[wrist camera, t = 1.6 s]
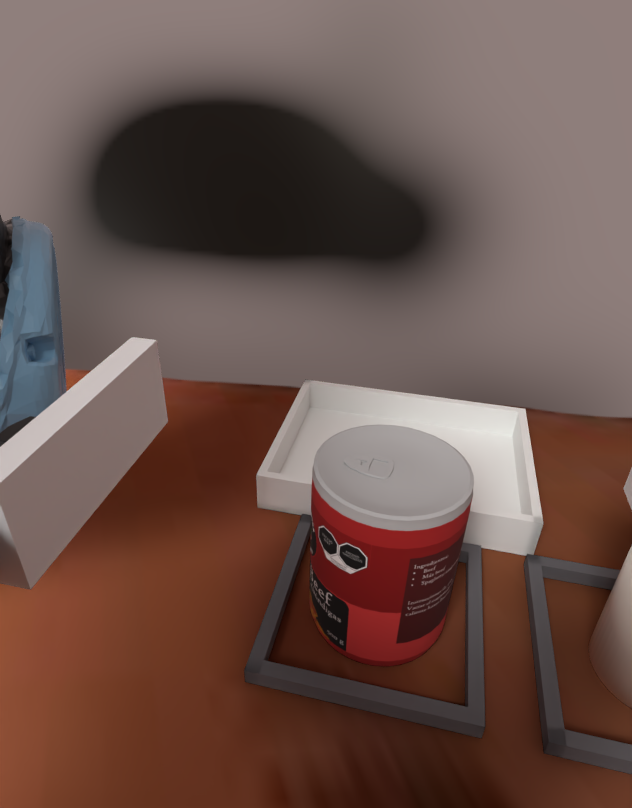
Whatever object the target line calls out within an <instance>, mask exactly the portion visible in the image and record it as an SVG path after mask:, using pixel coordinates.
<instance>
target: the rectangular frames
mask: <svg viewBox="0 0 632 808" xmlns="http://www.w3.org/2000/svg"><path fill="white" fill-rule="evenodd" d="M310 534H311V515H308V514H302V515H301V518H300V521H299V523H298V526H297V529H296V531H295V534H294V537H293V540H292V542H291V545H290V548H289V550H288V553H287V556H286V559H285V561H284V564H283V567H282V569H281V572H280V575H279V578H278V580H277V583H276V586H275V588H274V591H273V594H272V596H271V599H270V602H269V605H268V607H267V610H266V613H265V615H264V618H263V621H262V624H261V626H260V629H259V632H258V634H257V637H256V640H255V643H254V645H253V648H252V651H251V653H250V656H249V659H248V662H247V664H246V667H245V670H244V674H245V682H248V683H252V684H256V685H260V686H265V687H269V688H273V689H277V690H281V691H285V692H290V693H294V694H298V695H302V696H306V697H311V698H315V699H319V700H323V701H327V702H331V703H336V704H340V705H344V706H348V707H352V708H357V709H361V710H365V711H369V712H373V713H377V714H382V715H386V716H390V717H394V718H398V719H403V720H407V721H411V722H415V723H419V724H423V725H428V726H432V727H436V728H440V729H444V730H449V731H453V732H457V733H461V734H465V735H469V736H474V737H478V738H482V735H483V732H484V729H485V695H484V652H483V609H482V566H481V545H475V544H470V543H464V542H463V544H462V548H461V553H460V557H459V561H458V562H463V563H466V630H465V706H461V705H457V704H452V703H448V702H444V701H439V700H435V699H431V698H426V697H422V696H417V695H413V694H409V693H404V692H400V691H396V690H391V689H387V688H383V687H378V686H374V685H370V684H365V683H361V682H357V681H352V680H348V679H344V678H339V677H335V676H331V675H326V674H322V673H318V672H313V671H309V670H305V669H300V668H296V667H292V666H287V665H283V664H279V663H274V662H270V661H268V659H269V656H270V653H271V650H272V647H273V644H274V641H275V638H276V635H277V632H278V629H279V626H280V623H281V620H282V617H283V614H284V611H285V608H286V605H287V602H288V599H289V596H290V593H291V590H292V587H293V584H294V581H295V578H296V575H297V572H298V569H299V566H300V563H301V561H302V558H303V555H304V552H305V549H306V546H307V543H308V540H309V537H310ZM524 572H525V581H526V591H527V600H528V609H529V619H530V628H531V637H532V647H533V656H534V665H535V675H536V684H537V694H538V703H539V712H540V722H541V731H542V740H543V750H544V753H545V754H549V755H553V756H557V757H561V758H566V759H570V760H574V761H578V762H582V763H586V764H591V765H595V766H599V767H603V768H607V769H612V770H616V771H620V772H624V773H628V774H632V745H630V744H626V743H621V742H617V741H613V740H608V739H604V738H600V737H595V736H591V735H587V734H582V733H578V732H574V731H569V730H565V729H564V722H563V715H562V708H561V701H560V694H559V687H558V680H557V673H556V665H555V658H554V651H553V644H552V637H551V630H550V623H549V616H548V609H547V602H546V595H545V588H544V581H543V577H544V578H550V579H555V580H560V581H566V582H571V583H577V584H582V585H587V586H593V587H598V588H604V589H609V590H612V588H613V586H614V584H615V582H616V579H617V577H618V575H619V573H620V570H615V569H609V568H604V567H598V566H593V565H587V564H581V563H576V562H570V561H565V560H559V559H553V558H548V557H542V556H537V555H531V554H527V556H526V559H525V562H524Z"/></svg>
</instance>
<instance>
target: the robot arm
mask: <svg viewBox="0 0 632 808" xmlns="http://www.w3.org/2000/svg"><path fill="white" fill-rule="evenodd" d="M19 218H20V216H19V217H12V219H11V220H8V221H5V222H3V221H2V219H1V215H0V583H2V584H7V585H11V586H16V587H21V588H25V589H30V590H31V589H32V587H33V586H34V585H35V584H36V583H37V581H38V580H39V579H40V578H41V576H42V575H43V574H44V573H45V572H46V570H47V569H48V568H49V567H50V565H51V564H52V563H53V562H54V561H55V559H56V558H57V557H58V556H59V554H60V553H61V552H62V551H63V550H64V548H65V547H66V546H67V545H68V543H69V542H70V541H71V540H72V539H73V537H74V536H75V535H76V534H77V532H78V531H79V530H80V529H81V528H82V526H83V525H84V524H85V523H86V521H87V520H88V519H89V518H90V517H91V515H92V514H93V513H94V512H95V510H96V509H97V508H98V507H99V506H100V504H101V503H102V502H103V501H104V499H105V498H106V497H107V496H108V494H109V493H110V492H111V491H112V490H113V488H114V487H115V486H116V485H117V483H118V482H119V481H120V480H121V479H122V477H123V476H124V475H125V474H126V472H127V471H128V470H129V469H130V468H131V466H132V465H133V464H134V463H135V461H136V460H137V459H138V458H139V457H140V455H141V454H142V453H143V452H144V450H145V449H146V448H147V447H148V446H149V444H150V443H151V442H152V441H153V439H154V438H155V437H156V436H157V435H158V433H159V432H160V431H161V430H162V428H163V427H164V426H165V425H166V424H167V422H168V418H167V410H166V403H165V396H164V388H163V381H162V374H161V367H160V360H159V352H158V345H157V340H151V339H142V338H134V337H132V338H130V339H129V340H128V341H127V342H126V343H124V344H123V345H122V346H121V347H120V348H118V349H117V350H116V351H115V352H114V353H113V354H111V355H110V356H109V357H108V358H106V359H105V360H104V361H103V362H102V363H101V364H99V365H98V366H97V367H96V368H94V369H93V370H92V371H91V372H90V373H88V374H87V375H86V376H85V377H84V378H82V379H81V380H80V381H79V382H78V383H76V384H75V385H74V386H73V387H72V388H70V389H69V390H68V391H66V374H65V359H64V345H63V332H62V320H61V305H60V294H59V283H58V273H57V263H56V256H55V248H54V246H53V236H52V233H51V231H50V230H49V228H48V227H47V226H45V225H44V224H41V223H39V222H31V221H27V220H26V219H23V218H22V219H19ZM624 491H625V494H626V497H627V499H628V502H629V505H630V507H631V510H632V468H631V471H630V473H629V476H628V478H627V481H626V484H625V486H624Z"/></svg>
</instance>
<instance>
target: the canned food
mask: <svg viewBox="0 0 632 808" xmlns="http://www.w3.org/2000/svg"><path fill="white" fill-rule="evenodd" d="M473 486H474V475H473V472H472V469H471V467H470V465H469V463H468V462H467V460H466V459H465V457H464V456H463V455H462V454H461V453H460V452H459V451H458V450H456V449H455V448H454V447H452V446H451V445H450V444H448V443H447V442H445V441H443V440H441V439H439V438H437V437H435V436H433V435H431V434H428V433H425V432H423V431H420V430H416V429H412V428H408V427H402V426H395V425H365V426H360V427H354V428H351V429H347V430H344V431H341V432H339V433H337V434H335V435H333V436H332V437H330V438H329V439H328V440H326V441H325V442H324V443H323V444H322V445H321V446H320V448H319V449H318V450H317V452H316V455H315V458H314V465H313V468H312V488H311V538H310V593H309V605H310V610H311V614H312V617H313V619H314V621H315V623H316V625H317V628H318V630H319V632H320V633H321V635H322V636H323V637H324V639H325V640H326V641H327V643H329V644H330V645H331V646H332V647H333V648H334V649H335V650H336V651H338V652H339V653H341V654H343V655H344V656H346V657H347V658H350V659H352V660H355V661H357V662H360V663H364V664H368V665H372V666H395V665H401V664H404V663H407V662H410V661H413V660H414V659H416V658H418V657H420V656H421V655H423V654H424V653H425V652H426V651H427V650H428V649H429V648H430V647H431V646H432V645H433V644H434V642H435V641H436V640H437V638H438V637H439V635H440V633H441V632H442V629H443V626H444V622H445V618H446V614H447V609H448V605H449V601H450V596H451V592H452V588H453V583H454V579H455V574H456V570H457V566H458V561H459V557H460V553H461V548H462V544H463V539H464V535H465V531H466V526H467V522H468V518H469V513H470V507H471V502H472V498H473Z"/></svg>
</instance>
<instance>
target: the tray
mask: <svg viewBox="0 0 632 808" xmlns="http://www.w3.org/2000/svg"><path fill="white" fill-rule="evenodd" d="M365 425H395V426H402V427H408V428H412V429H416V430H420V431H423V432H425V433H428V434H431V435H433V436H435V437H437V438H439V439H441V440H443V441H445V442H447V443H448V444H450V445H451V446H452V447H454V448H455V449H456V450H458V451H459V452H460V453H461V454H462V455H463V456H464V457H465V459H466V460H467V462H468V463H469V465H470V467H471V469H472V472H473V475H474V486H473V498H472V502H471V507H470V513H469V518H468V522H467V526H466V531H465V535H464V539H463V542H464V543H470V544H475V545H481V548H486V549H491V550H497V551H502V552H508V553H514V554H519V555H525V556H527V554H531V555H534V552H535V549H536V546H537V542H538V539H539V536H540V533H541V530H542V527H543V518H542V511H541V505H540V499H539V492H538V486H537V480H536V474H535V467H534V461H533V455H532V448H531V442H530V436H529V429H528V423H527V417H526V411H525V409H521V408H514V407H507V406H499V405H492V404H484V403H477V402H469V401H462V400H455V399H454V400H453V399H446V398H440V397H431V396H425V395H417V394H410V393H403V392H395V391H387V390H380V389H373V388H365V387H358V386H351V385H343V384H336V383H328V382H321V381H313V380H306V379H305V381H304V383H303V385H302V387H301V389H300V391H299V393H298V395H297V397H296V399H295V401H294V403H293V404H292V406H291V408H290V410H289V412H288V414H287V416H286V418H285V420H284V422H283V424H282V426H281V428H280V430H279V432H278V434H277V436H276V438H275V440H274V441H273V443H272V445H271V447H270V449H269V451H268V453H267V455H266V457H265V459H264V461H263V463H262V465H261V467H260V469H259V471H258V473H257V475H256V482H257V506H258V508H263V509H269V510H274V511H280V512H285V513H291V514H297V515H302V514H308V515H311V488H312V468H313V465H314V458H315V455H316V452H317V450H318V449H319V448H320V446H321V445H322V444H323V443H324V442H325V441H326V440H328V439H329V438H330V437H332V436H333V435H335V434H337V433H339V432H341V431H344V430H347V429H351V428H354V427H360V426H365Z"/></svg>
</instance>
